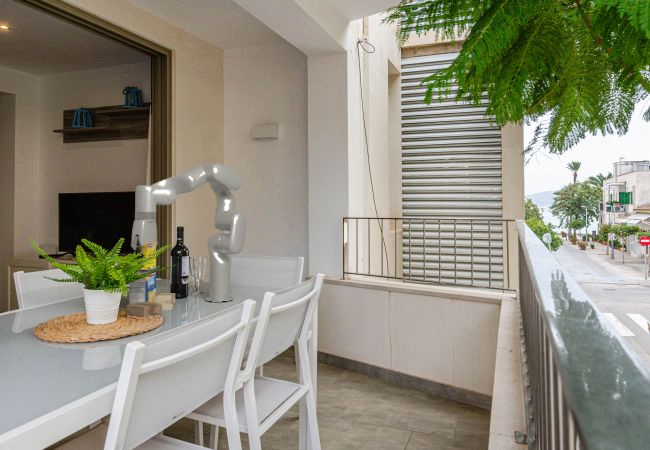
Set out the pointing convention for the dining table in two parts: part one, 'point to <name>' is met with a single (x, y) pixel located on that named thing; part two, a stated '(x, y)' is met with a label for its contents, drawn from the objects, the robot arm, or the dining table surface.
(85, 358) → the dining table surface
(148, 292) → the beverage box
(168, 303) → the oak cube
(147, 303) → the walnut block
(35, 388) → the dining table surface
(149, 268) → the supplement box
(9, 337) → the dining table surface
